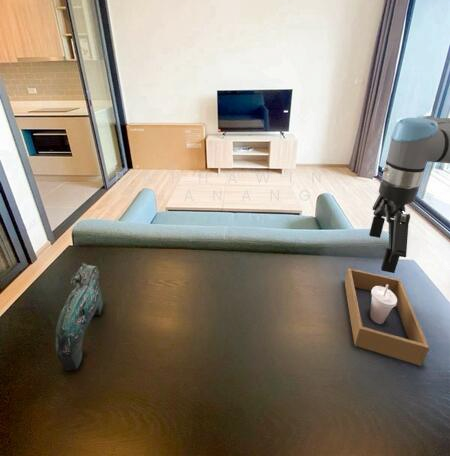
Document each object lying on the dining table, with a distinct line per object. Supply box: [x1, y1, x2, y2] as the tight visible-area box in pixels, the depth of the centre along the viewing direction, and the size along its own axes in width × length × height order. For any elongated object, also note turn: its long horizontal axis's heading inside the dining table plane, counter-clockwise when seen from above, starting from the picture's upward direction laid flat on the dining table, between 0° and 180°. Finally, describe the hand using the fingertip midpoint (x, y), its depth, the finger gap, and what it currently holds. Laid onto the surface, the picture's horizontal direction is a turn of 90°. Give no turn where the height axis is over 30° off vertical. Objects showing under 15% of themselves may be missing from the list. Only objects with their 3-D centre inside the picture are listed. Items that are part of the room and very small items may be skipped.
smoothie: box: [369, 284, 397, 325], centre depth 72 cm, size 6×6×14 cm
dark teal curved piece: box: [54, 262, 104, 371], centre depth 67 cm, size 20×6×20 cm, turn 5°
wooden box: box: [344, 267, 430, 367], centre depth 73 cm, size 16×22×7 cm
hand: (380, 252), depth 67 cm, fingers open, 13 cm apart
